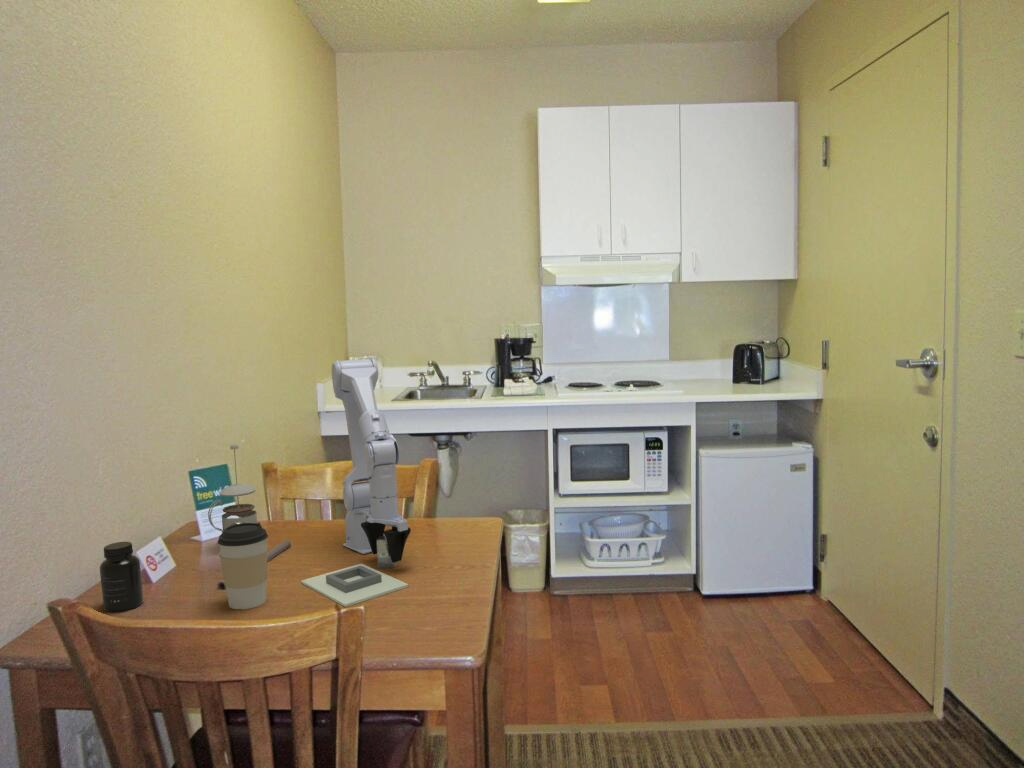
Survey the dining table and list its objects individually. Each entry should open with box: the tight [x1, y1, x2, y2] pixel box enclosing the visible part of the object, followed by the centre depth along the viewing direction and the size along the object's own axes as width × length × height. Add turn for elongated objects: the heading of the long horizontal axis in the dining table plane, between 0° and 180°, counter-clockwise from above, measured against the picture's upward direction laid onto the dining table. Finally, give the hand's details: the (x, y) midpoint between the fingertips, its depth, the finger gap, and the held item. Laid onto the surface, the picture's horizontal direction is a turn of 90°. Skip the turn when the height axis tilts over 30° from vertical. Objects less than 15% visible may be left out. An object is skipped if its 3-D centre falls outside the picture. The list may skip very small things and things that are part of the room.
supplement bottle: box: [99, 541, 144, 613], centre depth 142 cm, size 7×7×12 cm
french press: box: [207, 443, 258, 534], centre depth 175 cm, size 10×12×25 cm
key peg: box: [376, 535, 397, 570], centre depth 161 cm, size 4×4×6 cm
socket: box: [300, 563, 409, 608], centre depth 150 cm, size 18×14×2 cm
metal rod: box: [216, 539, 292, 590], centre depth 163 cm, size 2×27×2 cm, turn 169°
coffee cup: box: [217, 522, 269, 611], centre depth 142 cm, size 9×9×15 cm
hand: (386, 557), depth 161 cm, fingers open, 7 cm apart
